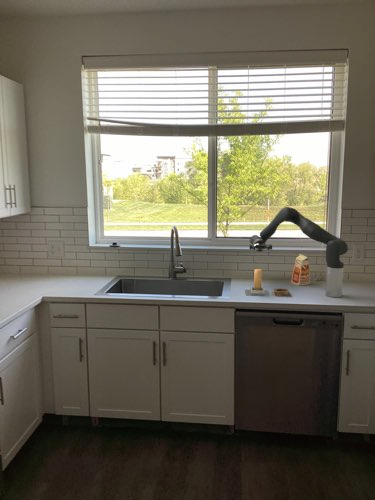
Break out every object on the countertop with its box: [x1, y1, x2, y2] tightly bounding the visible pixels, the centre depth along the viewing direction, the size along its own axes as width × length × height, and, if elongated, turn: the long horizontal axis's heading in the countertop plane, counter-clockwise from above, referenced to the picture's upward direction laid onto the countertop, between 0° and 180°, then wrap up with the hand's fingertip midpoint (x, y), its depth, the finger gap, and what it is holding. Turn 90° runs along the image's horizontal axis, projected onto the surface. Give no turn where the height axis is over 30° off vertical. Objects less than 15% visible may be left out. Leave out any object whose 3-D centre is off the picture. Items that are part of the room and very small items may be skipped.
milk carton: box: [290, 253, 311, 286], centre depth 275 cm, size 9×9×20 cm
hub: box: [244, 286, 271, 297], centre depth 249 cm, size 14×14×4 cm
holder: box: [271, 287, 292, 298], centre depth 246 cm, size 10×10×4 cm
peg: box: [253, 268, 263, 290], centre depth 248 cm, size 4×4×14 cm
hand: (261, 248), depth 259 cm, fingers open, 8 cm apart
